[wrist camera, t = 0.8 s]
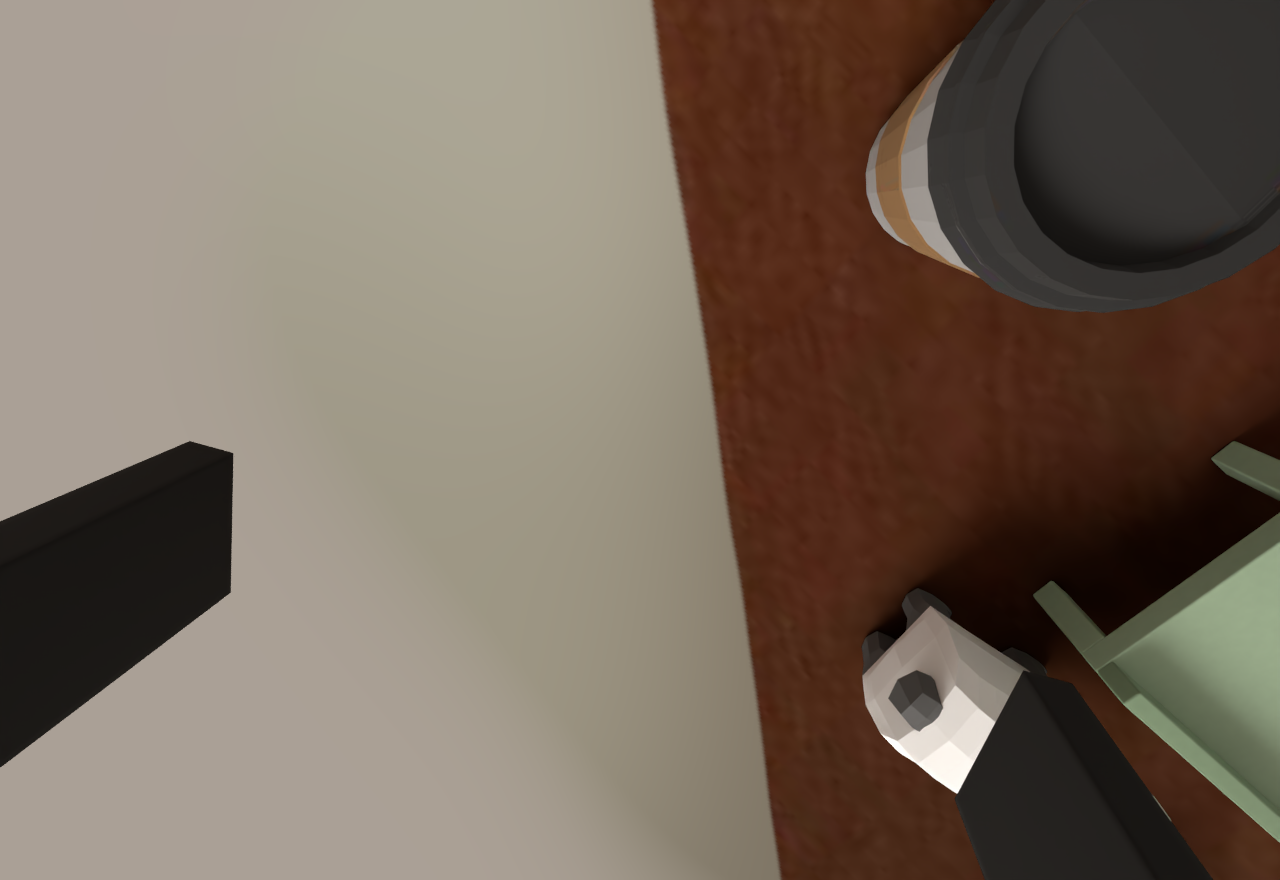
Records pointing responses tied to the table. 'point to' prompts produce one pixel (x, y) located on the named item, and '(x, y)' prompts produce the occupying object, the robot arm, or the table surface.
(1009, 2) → the coffee cup
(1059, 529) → the table surface
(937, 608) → the giant panda
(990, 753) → the robot arm
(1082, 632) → the shelf
